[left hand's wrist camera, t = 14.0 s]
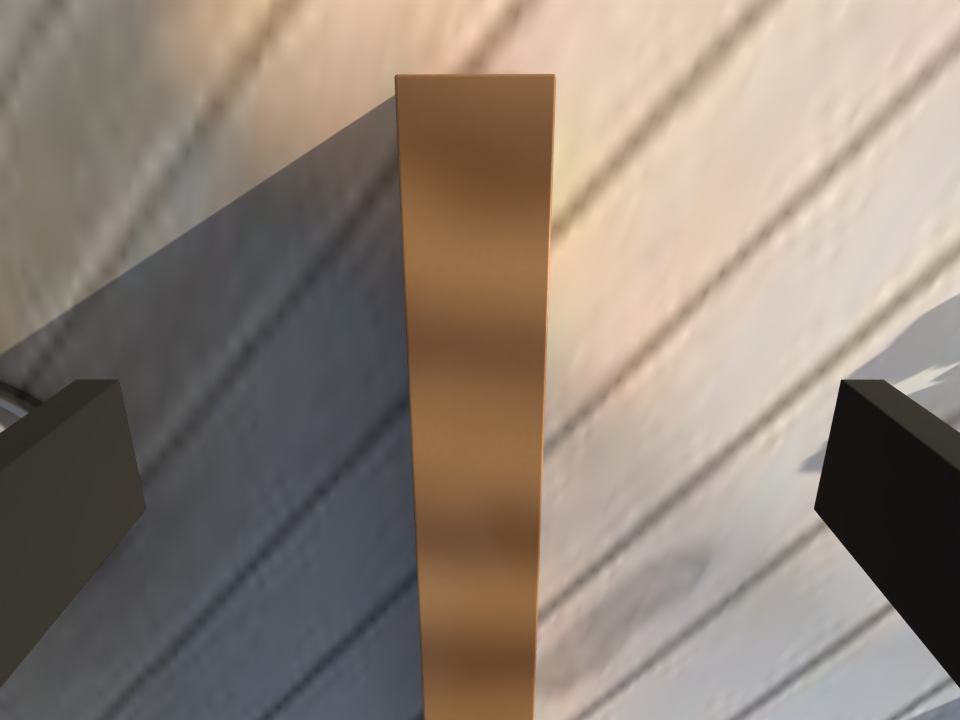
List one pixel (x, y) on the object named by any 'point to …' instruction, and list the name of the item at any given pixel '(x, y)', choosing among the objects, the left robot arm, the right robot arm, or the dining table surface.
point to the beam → (477, 376)
